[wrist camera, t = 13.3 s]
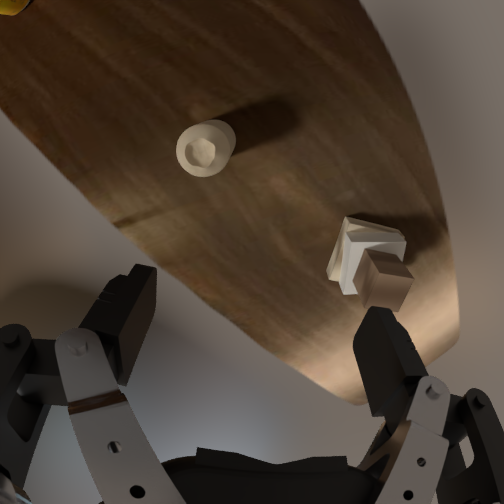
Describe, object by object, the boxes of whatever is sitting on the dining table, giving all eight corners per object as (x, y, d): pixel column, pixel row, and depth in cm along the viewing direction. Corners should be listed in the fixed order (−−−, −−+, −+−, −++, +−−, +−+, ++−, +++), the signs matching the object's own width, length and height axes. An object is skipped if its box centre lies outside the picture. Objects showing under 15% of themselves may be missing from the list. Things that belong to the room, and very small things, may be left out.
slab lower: (344, 214, 41) (349, 223, 39) (396, 228, 42) (404, 236, 39) (325, 268, 46) (329, 279, 43) (376, 278, 46) (382, 288, 44)
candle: (228, 113, 35) (218, 117, 26) (241, 153, 37) (236, 170, 28) (187, 127, 36) (164, 136, 27) (201, 166, 38) (183, 187, 29)
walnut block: (364, 248, 37) (379, 272, 32) (396, 254, 37) (414, 278, 32) (352, 280, 39) (364, 308, 34) (383, 285, 40) (398, 312, 34)
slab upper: (345, 232, 39) (351, 242, 37) (398, 232, 39) (406, 242, 37) (338, 282, 43) (343, 294, 40) (388, 280, 43) (394, 291, 40)
